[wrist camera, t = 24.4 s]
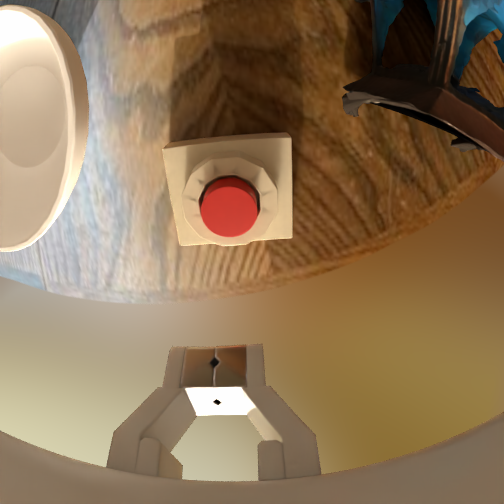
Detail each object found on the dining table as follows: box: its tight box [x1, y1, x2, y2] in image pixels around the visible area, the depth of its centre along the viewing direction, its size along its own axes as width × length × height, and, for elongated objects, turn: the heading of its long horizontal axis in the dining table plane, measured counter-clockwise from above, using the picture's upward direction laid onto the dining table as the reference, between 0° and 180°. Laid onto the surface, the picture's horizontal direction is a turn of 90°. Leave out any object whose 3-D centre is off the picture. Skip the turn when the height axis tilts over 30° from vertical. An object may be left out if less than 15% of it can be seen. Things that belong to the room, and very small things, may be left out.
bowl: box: [0, 4, 89, 252], centre depth 15 cm, size 20×20×7 cm
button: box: [201, 178, 257, 237], centre depth 19 cm, size 4×4×2 cm
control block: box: [162, 132, 292, 246], centre depth 22 cm, size 9×8×4 cm
